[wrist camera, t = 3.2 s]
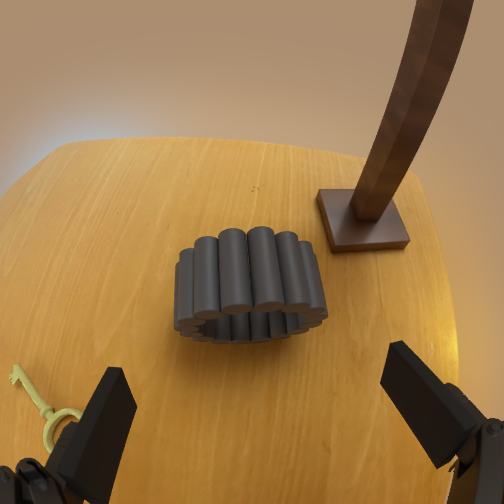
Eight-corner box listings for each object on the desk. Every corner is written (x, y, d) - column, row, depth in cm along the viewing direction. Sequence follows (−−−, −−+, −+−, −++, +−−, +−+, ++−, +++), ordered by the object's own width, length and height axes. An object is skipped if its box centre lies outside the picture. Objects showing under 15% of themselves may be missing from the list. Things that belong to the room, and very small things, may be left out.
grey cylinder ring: (309, 337, 24) (348, 293, 15) (191, 346, 24) (154, 308, 14) (301, 288, 27) (329, 222, 17) (190, 296, 26) (160, 233, 17)
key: (23, 362, 21) (12, 358, 19) (98, 421, 19) (87, 422, 17) (9, 410, 17) (-2, 408, 16) (82, 474, 16) (71, 477, 14)
